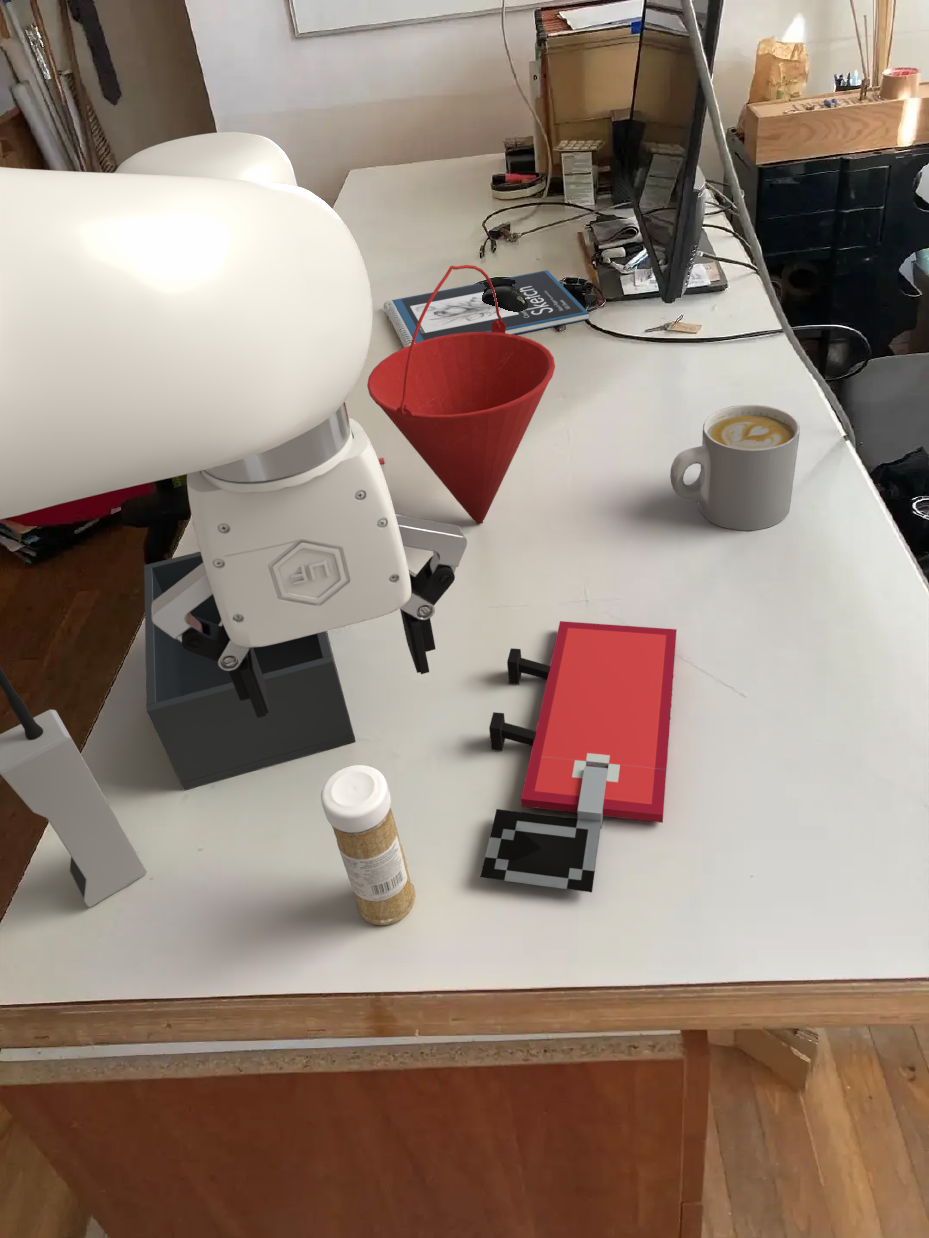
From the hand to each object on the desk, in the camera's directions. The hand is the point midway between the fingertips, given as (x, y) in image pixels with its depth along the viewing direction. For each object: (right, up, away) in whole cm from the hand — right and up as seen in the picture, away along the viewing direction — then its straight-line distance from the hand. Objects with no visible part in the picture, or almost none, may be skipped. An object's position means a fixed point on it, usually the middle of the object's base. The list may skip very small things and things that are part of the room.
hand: (341, 679), depth 56 cm
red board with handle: (+17, -8, +25) cm, 32 cm away
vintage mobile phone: (-21, -18, +20) cm, 34 cm away
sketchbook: (+10, +55, +100) cm, 115 cm away
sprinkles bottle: (+1, -18, +16) cm, 24 cm away
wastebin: (-13, -3, +36) cm, 38 cm away
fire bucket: (+9, +15, +53) cm, 56 cm away
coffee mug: (+37, +16, +50) cm, 65 cm away
